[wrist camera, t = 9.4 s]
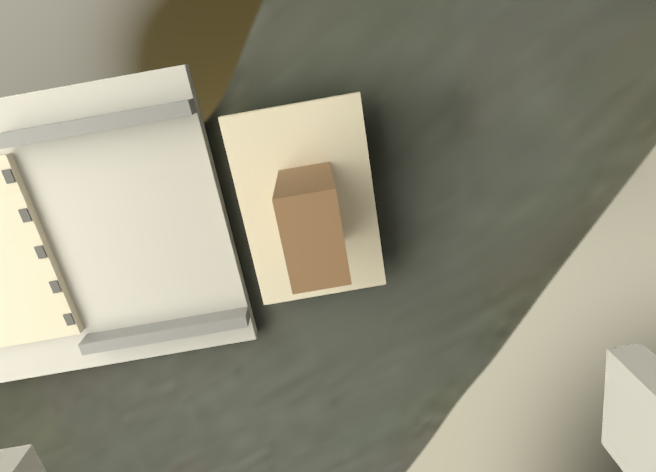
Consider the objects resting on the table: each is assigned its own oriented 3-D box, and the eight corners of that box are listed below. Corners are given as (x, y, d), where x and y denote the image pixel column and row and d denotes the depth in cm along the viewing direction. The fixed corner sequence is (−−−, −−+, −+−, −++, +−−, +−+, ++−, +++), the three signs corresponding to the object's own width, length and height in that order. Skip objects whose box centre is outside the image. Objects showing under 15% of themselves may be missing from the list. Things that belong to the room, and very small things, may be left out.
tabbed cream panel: (359, 91, 27) (375, 102, 20) (384, 280, 31) (404, 335, 25) (219, 116, 27) (194, 134, 21) (264, 300, 31) (254, 361, 25)
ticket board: (188, 64, 27) (178, 65, 25) (257, 331, 33) (254, 350, 31) (-219, 137, 27) (-263, 144, 25) (-73, 387, 34) (-99, 410, 32)
